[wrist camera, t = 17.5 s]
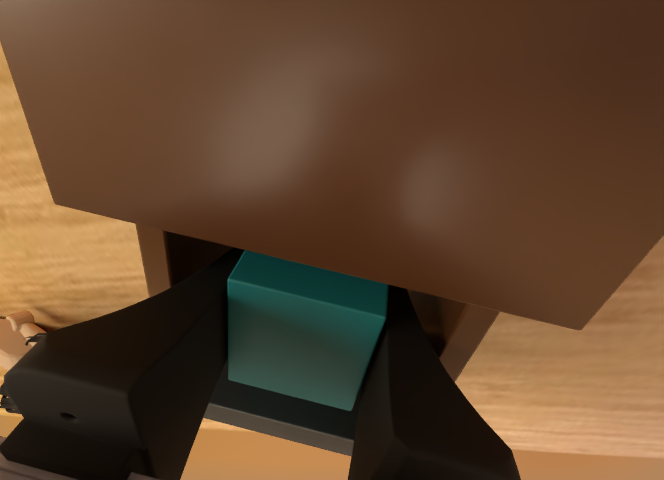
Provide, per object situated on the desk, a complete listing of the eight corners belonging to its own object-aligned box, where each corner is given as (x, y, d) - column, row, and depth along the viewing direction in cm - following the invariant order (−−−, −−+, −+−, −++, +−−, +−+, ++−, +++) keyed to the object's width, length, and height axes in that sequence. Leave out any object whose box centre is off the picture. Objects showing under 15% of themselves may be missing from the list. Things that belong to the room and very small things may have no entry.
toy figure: (35, 367, 29) (203, 388, 25) (-54, 442, 24) (141, 484, 20) (-14, 292, 26) (170, 303, 22) (-131, 359, 20) (85, 389, 17)
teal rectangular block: (366, 299, 16) (351, 412, 12) (274, 276, 16) (227, 380, 12) (394, 211, 13) (386, 318, 9) (283, 185, 13) (226, 278, 9)
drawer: (386, 398, 22) (380, 522, 17) (222, 357, 22) (168, 465, 17) (533, 86, 11) (628, 173, 6) (214, 18, 12) (71, 49, 7)
